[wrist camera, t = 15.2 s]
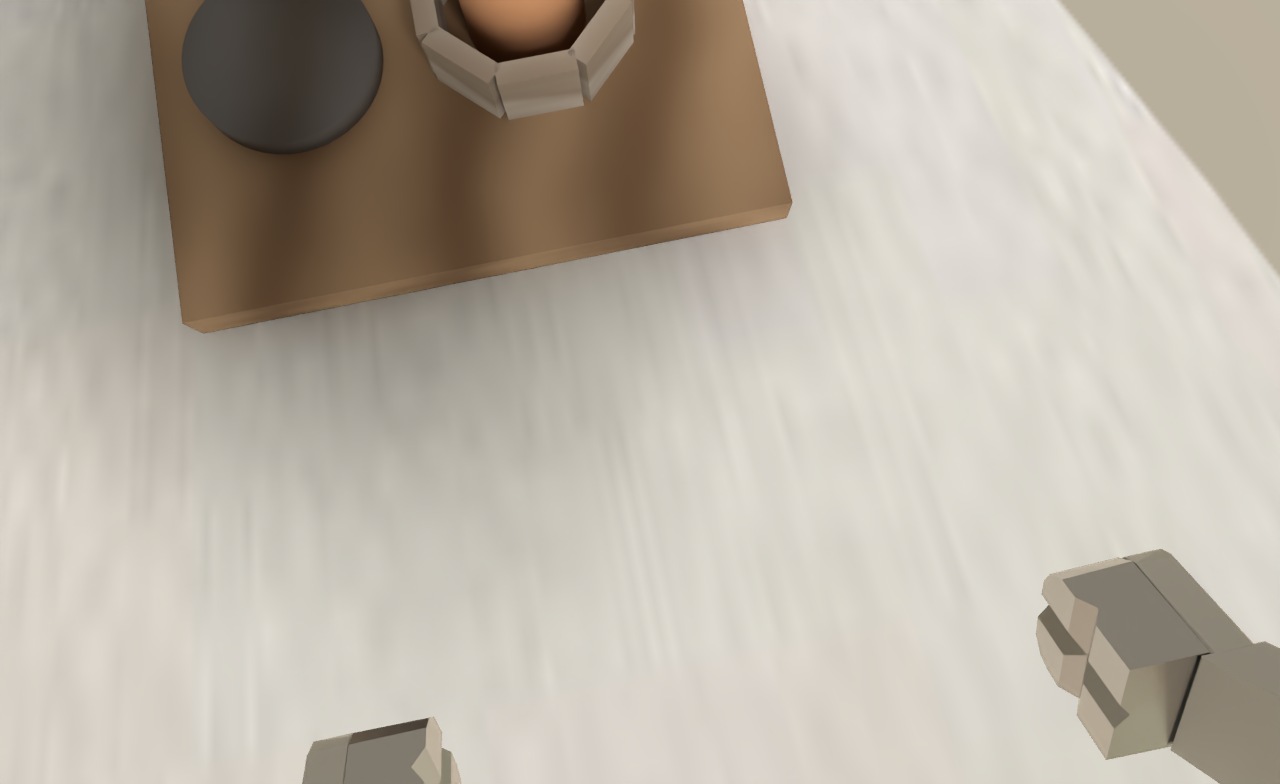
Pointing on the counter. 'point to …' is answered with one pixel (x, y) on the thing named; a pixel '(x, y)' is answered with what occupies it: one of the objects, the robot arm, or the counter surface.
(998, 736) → the counter surface
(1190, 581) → the robot arm
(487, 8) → the hub peg
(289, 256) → the carrier board
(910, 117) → the counter surface
